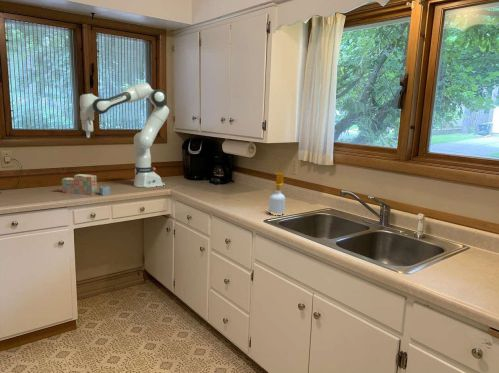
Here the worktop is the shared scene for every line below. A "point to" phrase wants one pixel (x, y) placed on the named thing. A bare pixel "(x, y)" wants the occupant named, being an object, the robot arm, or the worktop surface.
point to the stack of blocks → (80, 184)
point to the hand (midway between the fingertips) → (88, 137)
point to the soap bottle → (277, 196)
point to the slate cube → (104, 190)
